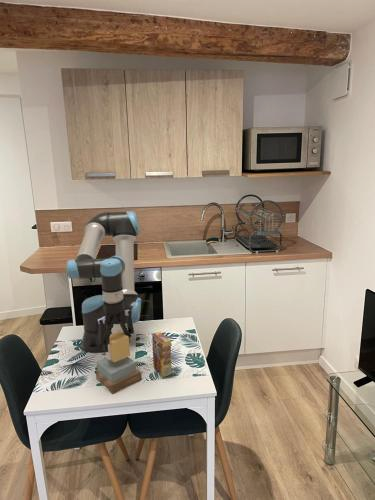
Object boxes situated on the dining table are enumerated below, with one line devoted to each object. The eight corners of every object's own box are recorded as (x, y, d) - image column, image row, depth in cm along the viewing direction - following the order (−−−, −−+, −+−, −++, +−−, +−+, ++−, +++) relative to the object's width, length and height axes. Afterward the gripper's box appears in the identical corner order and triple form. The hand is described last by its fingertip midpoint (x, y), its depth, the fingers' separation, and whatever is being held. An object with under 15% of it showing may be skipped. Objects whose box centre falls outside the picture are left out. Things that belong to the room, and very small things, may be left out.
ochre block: (105, 355, 139) (103, 336, 137) (121, 348, 143) (119, 330, 141) (114, 362, 134) (112, 343, 132) (130, 355, 138) (128, 337, 136)
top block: (97, 371, 140) (96, 362, 139) (121, 360, 147) (120, 351, 146) (111, 383, 132) (111, 373, 131) (136, 371, 140) (135, 362, 139)
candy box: (172, 374, 143) (171, 340, 139) (163, 377, 141) (161, 343, 137) (162, 364, 150) (160, 331, 147) (153, 367, 148) (151, 334, 144)
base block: (96, 379, 141) (95, 371, 140) (124, 367, 150) (124, 359, 149) (112, 395, 132) (111, 385, 131) (141, 381, 140) (141, 372, 139)
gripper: (93, 310, 124) (98, 368, 129) (141, 296, 136) (144, 349, 142) (84, 304, 130) (89, 360, 135) (131, 290, 142) (134, 342, 147)
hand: (117, 354), depth 138 cm, fingers closed on ochre block, 7 cm apart
